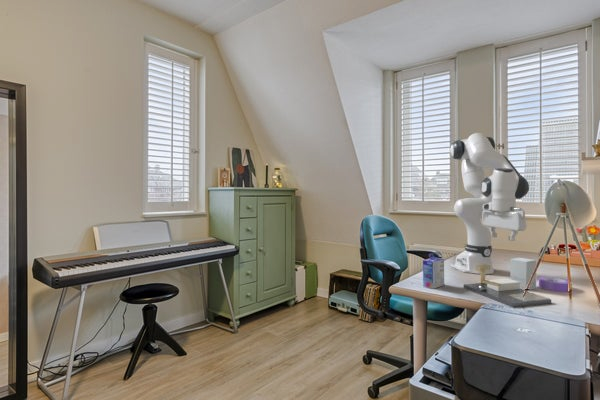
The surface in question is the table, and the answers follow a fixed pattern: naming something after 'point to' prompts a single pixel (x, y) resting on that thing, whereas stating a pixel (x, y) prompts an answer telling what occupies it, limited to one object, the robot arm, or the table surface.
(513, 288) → the cover lid
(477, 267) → the t key
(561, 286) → the masking tape
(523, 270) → the supplement box
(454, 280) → the table surface
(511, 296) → the plate
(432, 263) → the ink cartridge box
